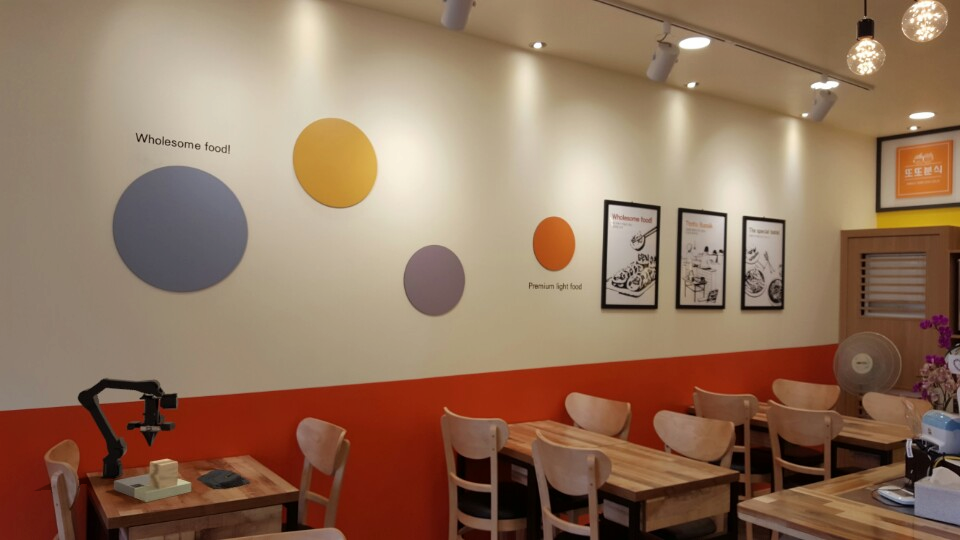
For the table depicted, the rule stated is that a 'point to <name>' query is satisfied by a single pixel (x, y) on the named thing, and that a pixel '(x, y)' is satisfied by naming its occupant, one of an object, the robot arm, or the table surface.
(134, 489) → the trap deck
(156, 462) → the maple block
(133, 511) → the table surface
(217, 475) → the dark slate chunk
